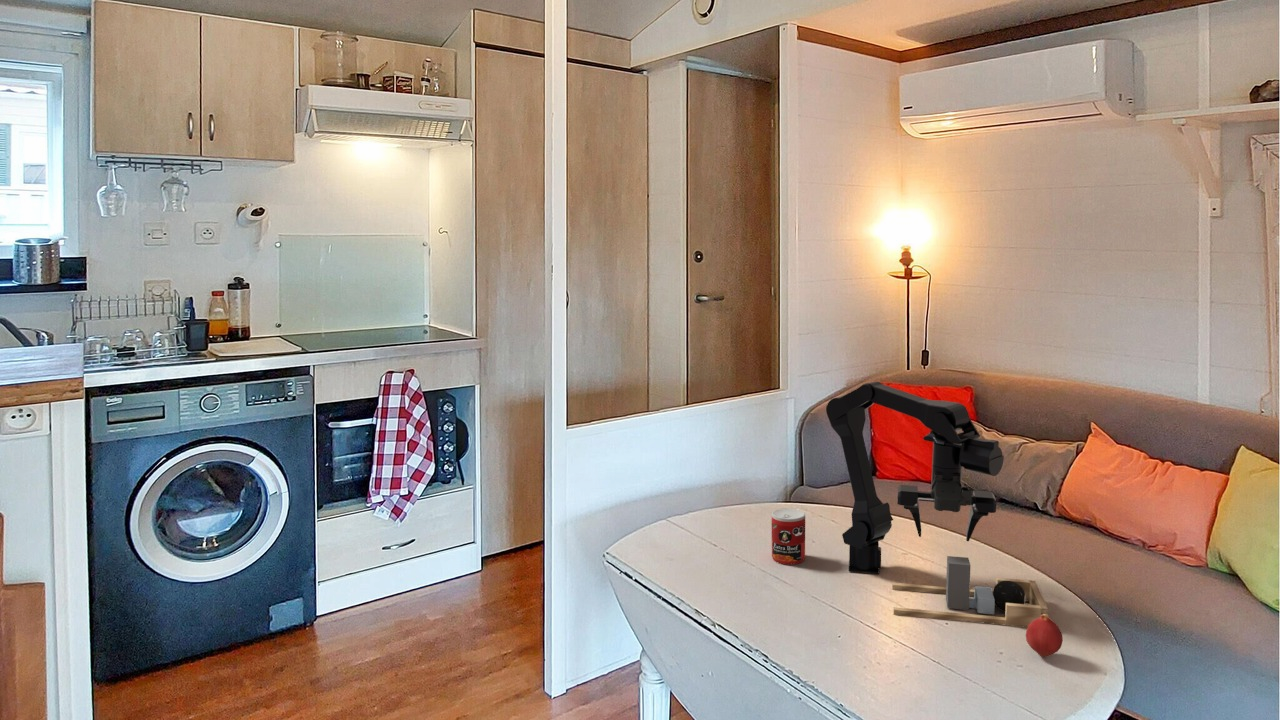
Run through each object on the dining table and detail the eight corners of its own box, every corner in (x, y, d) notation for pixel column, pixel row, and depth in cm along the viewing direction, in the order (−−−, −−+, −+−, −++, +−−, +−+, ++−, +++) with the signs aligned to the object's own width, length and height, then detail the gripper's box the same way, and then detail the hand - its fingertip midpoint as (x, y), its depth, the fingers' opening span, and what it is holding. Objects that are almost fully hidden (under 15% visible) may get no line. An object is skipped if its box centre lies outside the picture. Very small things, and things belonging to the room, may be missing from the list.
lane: (893, 614, 164) (893, 609, 163) (892, 587, 176) (892, 582, 176) (1005, 625, 158) (1006, 620, 158) (996, 596, 171) (996, 591, 171)
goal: (1005, 625, 158) (1006, 605, 157) (996, 596, 171) (996, 577, 170) (1047, 629, 156) (1048, 609, 156) (1034, 599, 169) (1035, 580, 168)
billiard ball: (1023, 620, 160) (1024, 590, 159) (989, 613, 163) (991, 584, 162) (1026, 607, 165) (1027, 579, 164) (993, 602, 168) (995, 573, 167)
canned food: (768, 563, 191) (768, 517, 190) (775, 550, 198) (776, 506, 197) (801, 567, 188) (801, 520, 187) (808, 554, 196) (808, 509, 194)
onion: (1028, 645, 150) (1030, 603, 149) (1063, 653, 147) (1066, 611, 146) (1022, 659, 145) (1024, 616, 144) (1058, 668, 142) (1061, 624, 141)
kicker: (947, 610, 164) (949, 565, 163) (945, 597, 170) (946, 554, 169) (994, 614, 162) (995, 569, 161) (990, 601, 168) (991, 557, 166)
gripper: (898, 472, 163) (895, 548, 166) (1001, 480, 158) (996, 558, 160) (898, 457, 174) (896, 528, 176) (995, 464, 168) (990, 537, 171)
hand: (943, 538), depth 170 cm, fingers open, 9 cm apart
